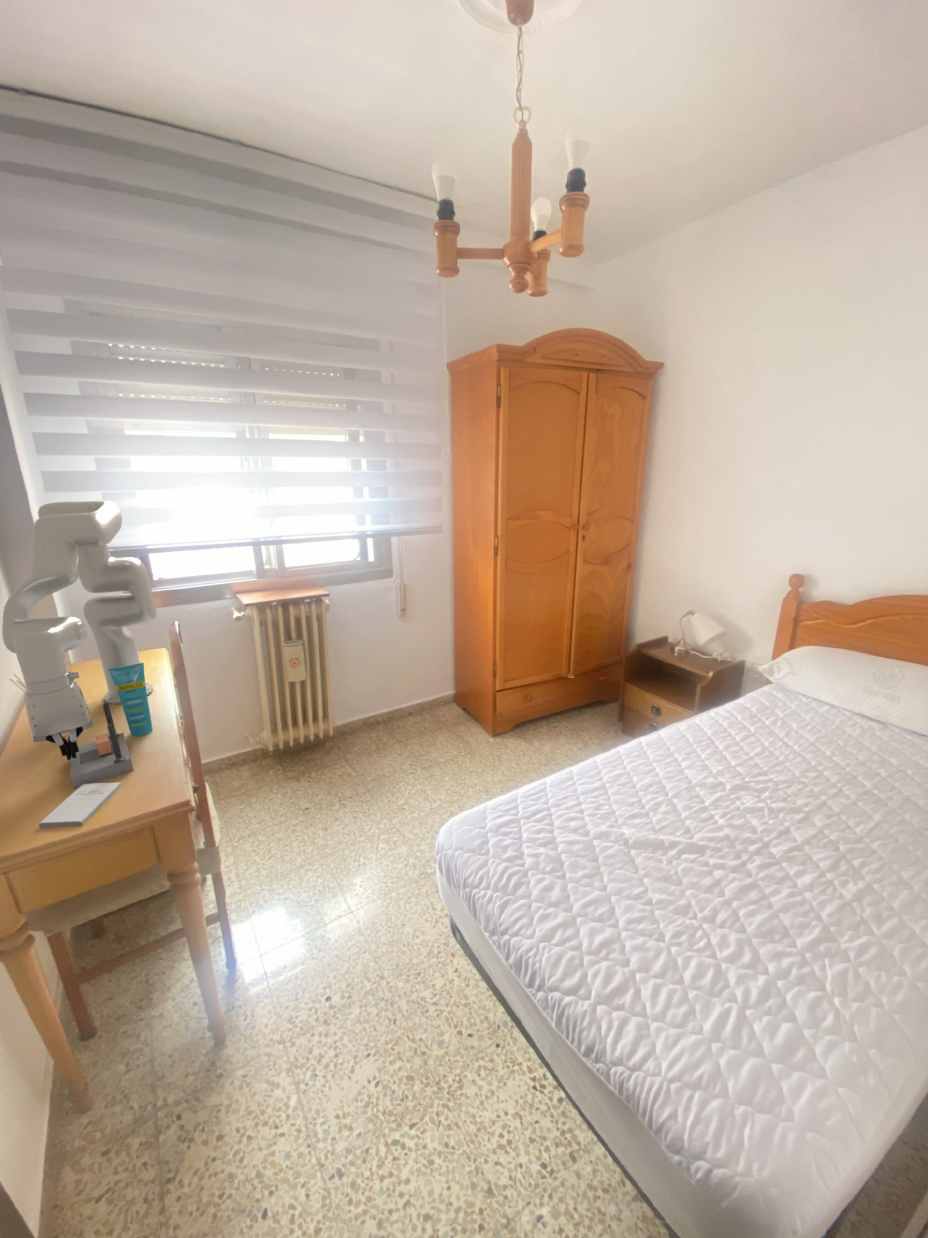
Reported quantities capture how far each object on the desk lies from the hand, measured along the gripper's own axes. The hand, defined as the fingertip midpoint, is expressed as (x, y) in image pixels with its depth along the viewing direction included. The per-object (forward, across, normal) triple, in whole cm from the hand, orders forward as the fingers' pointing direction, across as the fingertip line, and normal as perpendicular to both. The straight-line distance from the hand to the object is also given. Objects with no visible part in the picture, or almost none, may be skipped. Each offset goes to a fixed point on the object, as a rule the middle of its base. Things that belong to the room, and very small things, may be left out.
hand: (71, 756), depth 112 cm
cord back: (+1, -8, -7) cm, 11 cm away
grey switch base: (+4, -5, 0) cm, 6 cm away
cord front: (+1, -8, +7) cm, 11 cm away
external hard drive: (+5, 0, +16) cm, 16 cm away
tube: (+4, -14, -11) cm, 19 cm away
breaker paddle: (+1, -6, 0) cm, 6 cm away
